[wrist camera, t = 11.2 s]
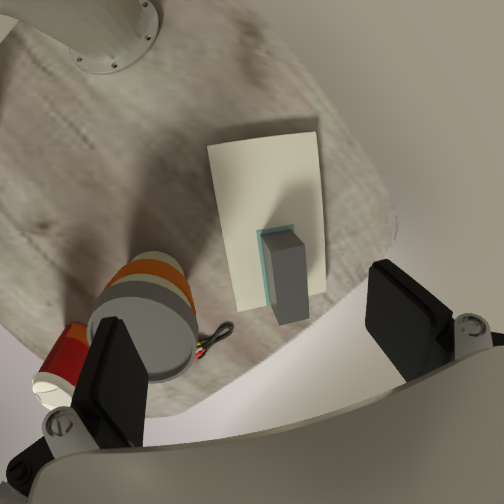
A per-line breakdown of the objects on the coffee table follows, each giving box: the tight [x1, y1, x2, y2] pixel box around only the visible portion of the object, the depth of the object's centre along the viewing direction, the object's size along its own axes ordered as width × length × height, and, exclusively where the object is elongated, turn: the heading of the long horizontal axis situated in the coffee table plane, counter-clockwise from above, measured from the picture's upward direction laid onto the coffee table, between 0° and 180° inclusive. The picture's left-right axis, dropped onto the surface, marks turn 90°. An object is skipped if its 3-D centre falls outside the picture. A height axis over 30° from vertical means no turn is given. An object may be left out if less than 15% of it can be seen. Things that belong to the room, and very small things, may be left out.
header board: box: [207, 132, 326, 312], centre depth 39 cm, size 24×14×5 cm, turn 8°
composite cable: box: [194, 324, 233, 360], centre depth 47 cm, size 10×5×2 cm, turn 111°
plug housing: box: [260, 229, 309, 326], centre depth 39 cm, size 11×4×6 cm, turn 8°
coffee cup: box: [32, 322, 90, 410], centre depth 36 cm, size 8×8×15 cm
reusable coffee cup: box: [87, 251, 198, 384], centre depth 35 cm, size 13×13×15 cm
